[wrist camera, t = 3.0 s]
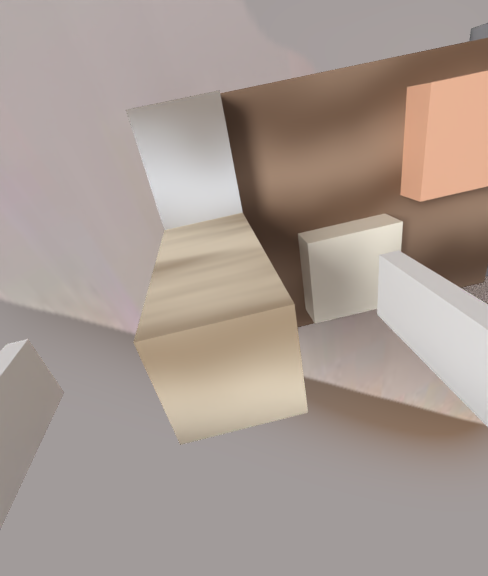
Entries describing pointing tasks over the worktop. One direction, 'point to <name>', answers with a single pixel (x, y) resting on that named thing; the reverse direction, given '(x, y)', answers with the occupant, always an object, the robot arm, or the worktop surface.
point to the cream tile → (345, 265)
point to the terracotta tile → (446, 137)
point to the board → (350, 164)
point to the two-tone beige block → (211, 284)
